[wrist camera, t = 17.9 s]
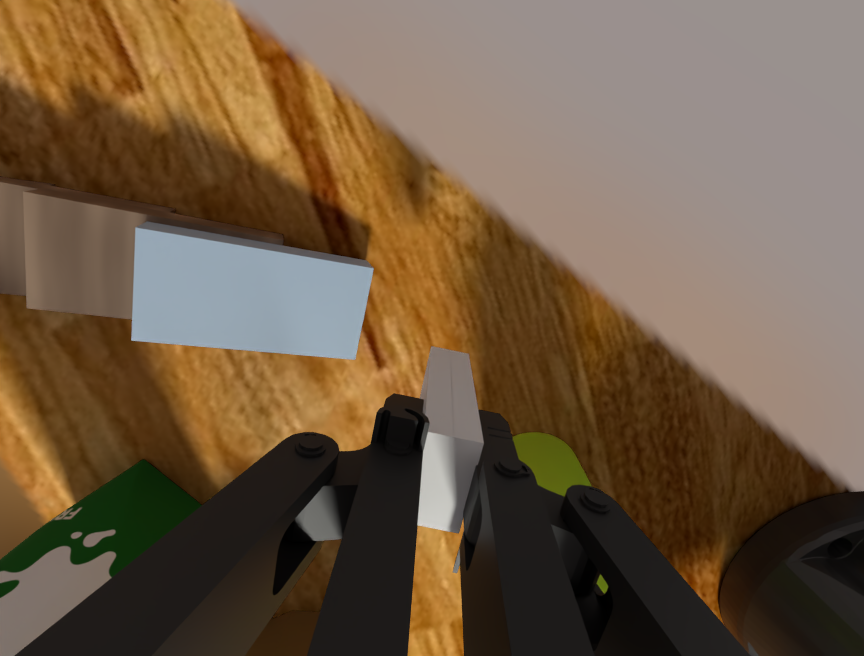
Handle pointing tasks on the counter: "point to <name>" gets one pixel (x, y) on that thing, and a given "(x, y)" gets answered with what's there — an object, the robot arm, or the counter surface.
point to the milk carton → (84, 550)
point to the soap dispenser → (552, 466)
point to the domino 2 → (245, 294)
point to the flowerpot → (286, 635)
